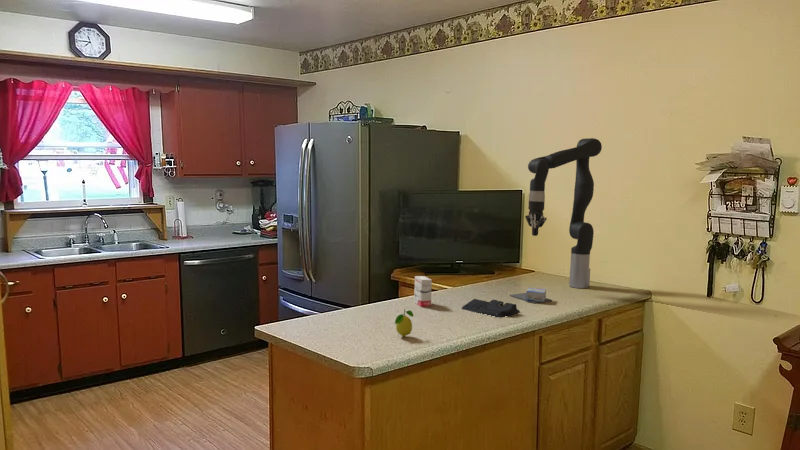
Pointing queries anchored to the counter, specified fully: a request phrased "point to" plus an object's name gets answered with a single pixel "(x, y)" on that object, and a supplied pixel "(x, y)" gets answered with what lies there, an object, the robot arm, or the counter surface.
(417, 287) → the ink box
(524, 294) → the mat
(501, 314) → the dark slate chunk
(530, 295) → the medicine box
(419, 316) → the counter surface
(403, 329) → the lemon
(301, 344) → the counter surface
